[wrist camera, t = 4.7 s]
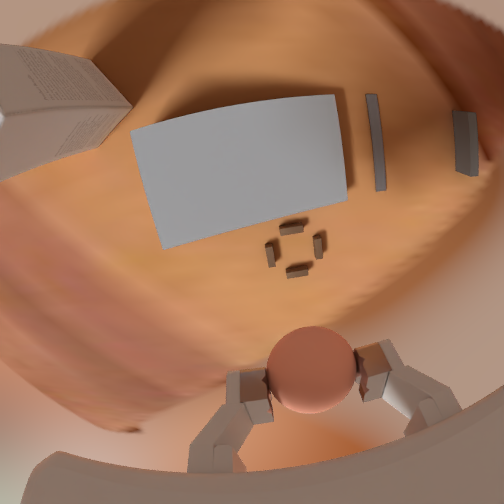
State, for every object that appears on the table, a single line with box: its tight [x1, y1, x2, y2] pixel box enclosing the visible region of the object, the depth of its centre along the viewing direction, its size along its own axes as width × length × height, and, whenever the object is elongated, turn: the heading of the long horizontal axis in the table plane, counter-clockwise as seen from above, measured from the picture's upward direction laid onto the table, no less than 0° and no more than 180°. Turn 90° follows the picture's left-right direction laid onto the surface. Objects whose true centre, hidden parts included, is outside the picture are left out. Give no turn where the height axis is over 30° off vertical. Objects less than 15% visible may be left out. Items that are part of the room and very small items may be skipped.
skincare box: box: [0, 44, 133, 182], centre depth 10 cm, size 6×4×12 cm
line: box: [366, 94, 386, 191], centre depth 17 cm, size 1×7×1 cm, turn 11°
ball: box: [266, 326, 356, 414], centre depth 10 cm, size 4×4×4 cm
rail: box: [452, 111, 479, 177], centre depth 15 cm, size 1×5×2 cm, turn 11°
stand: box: [265, 223, 323, 279], centre depth 20 cm, size 4×4×1 cm
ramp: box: [130, 94, 348, 250], centre depth 16 cm, size 12×7×4 cm, turn 101°
